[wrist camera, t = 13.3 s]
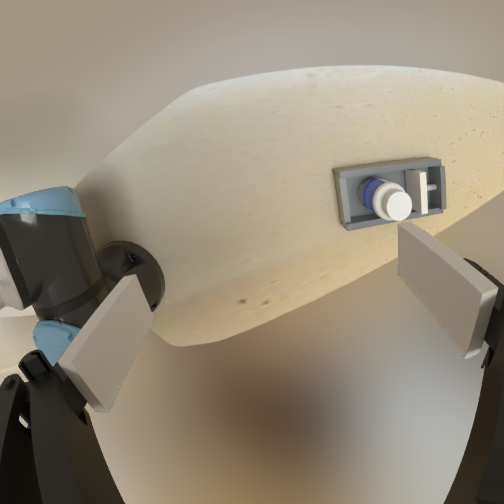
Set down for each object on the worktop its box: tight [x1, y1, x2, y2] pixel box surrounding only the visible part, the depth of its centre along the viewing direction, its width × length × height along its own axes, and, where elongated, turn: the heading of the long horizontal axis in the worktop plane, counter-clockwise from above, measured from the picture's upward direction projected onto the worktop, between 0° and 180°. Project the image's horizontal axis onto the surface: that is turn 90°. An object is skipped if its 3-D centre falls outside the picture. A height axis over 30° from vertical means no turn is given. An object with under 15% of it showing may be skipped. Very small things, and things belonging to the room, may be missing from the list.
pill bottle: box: [358, 176, 412, 221], centre depth 37 cm, size 5×5×10 cm
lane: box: [333, 157, 446, 231], centre depth 40 cm, size 18×9×5 cm, turn 102°
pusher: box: [405, 169, 437, 214], centre depth 38 cm, size 5×6×5 cm
